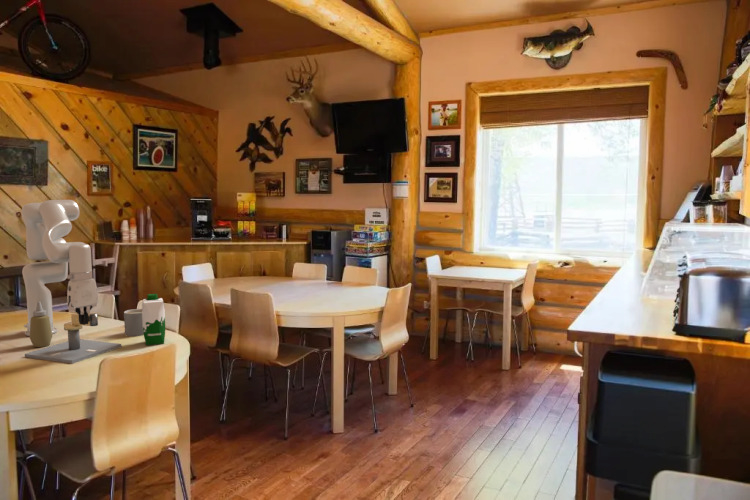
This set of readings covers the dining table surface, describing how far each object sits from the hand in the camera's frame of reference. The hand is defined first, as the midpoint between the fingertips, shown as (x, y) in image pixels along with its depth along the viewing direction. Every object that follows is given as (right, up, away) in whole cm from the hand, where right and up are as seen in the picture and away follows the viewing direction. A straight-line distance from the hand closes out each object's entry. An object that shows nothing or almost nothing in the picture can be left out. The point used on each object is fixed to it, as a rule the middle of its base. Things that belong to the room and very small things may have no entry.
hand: (83, 323), depth 222 cm
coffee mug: (+7, -9, +37) cm, 38 cm away
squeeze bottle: (-25, -11, +16) cm, 32 cm away
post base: (-7, -12, +7) cm, 16 cm away
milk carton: (+19, -11, +21) cm, 30 cm away
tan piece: (-3, -3, +5) cm, 6 cm away
